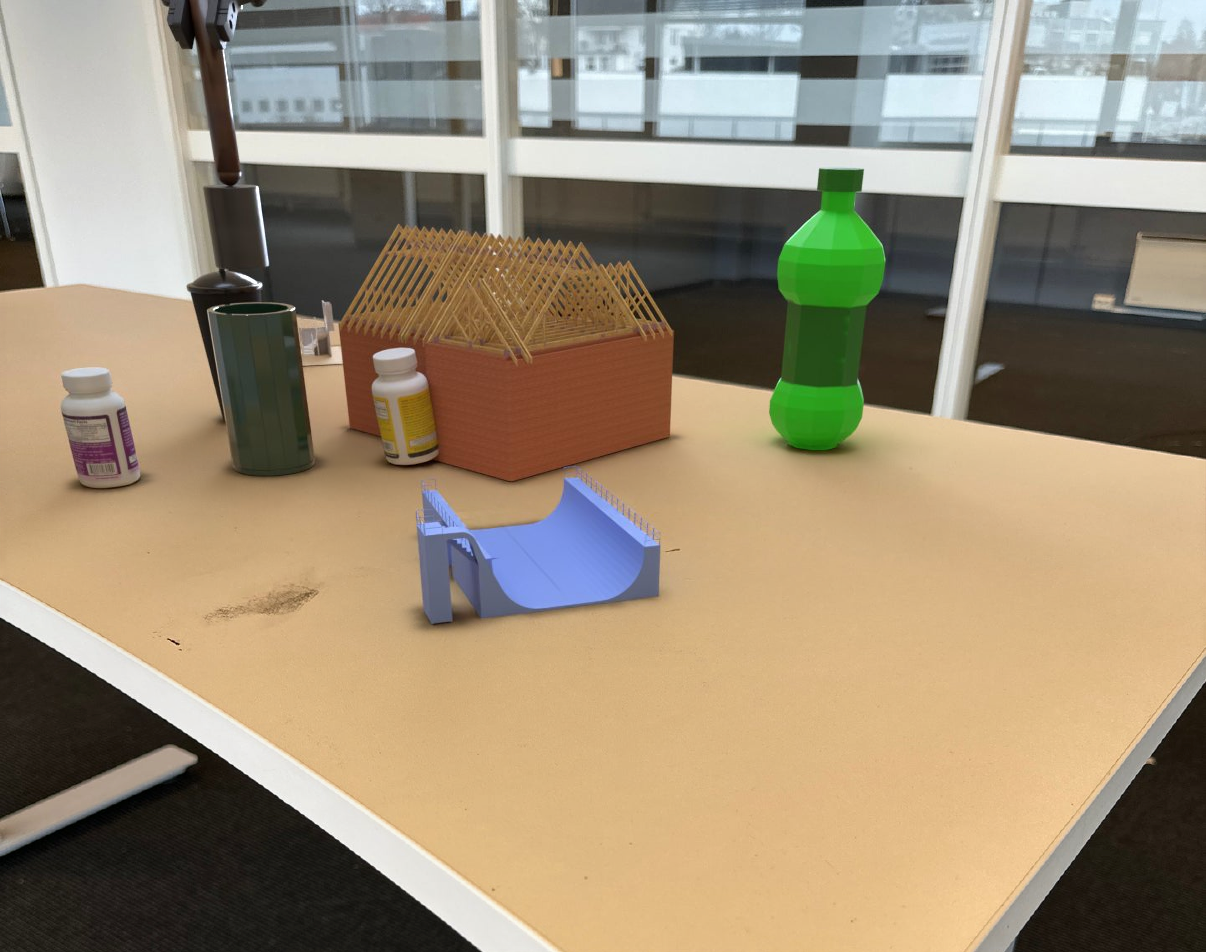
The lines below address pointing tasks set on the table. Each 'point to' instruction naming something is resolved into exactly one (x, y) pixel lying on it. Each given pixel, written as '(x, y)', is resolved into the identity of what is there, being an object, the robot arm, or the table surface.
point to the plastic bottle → (826, 316)
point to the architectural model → (319, 341)
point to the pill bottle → (98, 429)
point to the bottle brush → (226, 165)
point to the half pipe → (536, 557)
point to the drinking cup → (220, 292)
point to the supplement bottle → (403, 408)
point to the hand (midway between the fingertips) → (198, 39)
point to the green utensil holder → (262, 387)
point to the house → (514, 353)
